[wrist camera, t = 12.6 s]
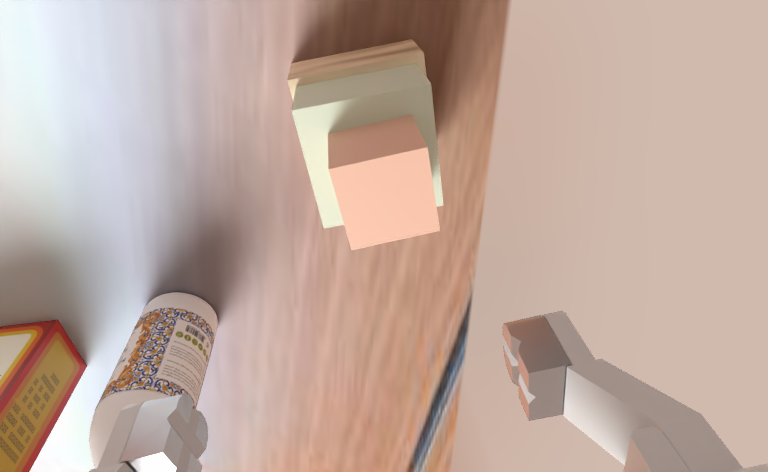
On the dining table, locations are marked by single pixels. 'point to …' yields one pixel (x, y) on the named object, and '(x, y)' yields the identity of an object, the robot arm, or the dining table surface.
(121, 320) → the dining table surface
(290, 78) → the birch base block
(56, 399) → the baking soda box
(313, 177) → the sage middle block
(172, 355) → the bath foam
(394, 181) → the terracotta cube
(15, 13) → the dining table surface
